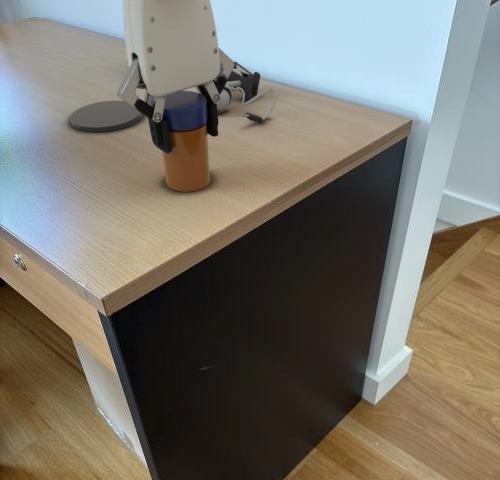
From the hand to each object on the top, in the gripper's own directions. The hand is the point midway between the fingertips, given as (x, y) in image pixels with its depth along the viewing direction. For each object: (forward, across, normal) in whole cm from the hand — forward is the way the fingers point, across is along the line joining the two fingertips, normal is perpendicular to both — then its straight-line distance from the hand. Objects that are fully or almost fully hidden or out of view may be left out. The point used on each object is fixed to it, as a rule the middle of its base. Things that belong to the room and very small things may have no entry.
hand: (187, 140), depth 65 cm
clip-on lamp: (+6, -21, -18) cm, 28 cm away
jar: (+6, 0, -1) cm, 6 cm away
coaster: (+6, -1, -30) cm, 30 cm away
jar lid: (-4, 0, 0) cm, 4 cm away
